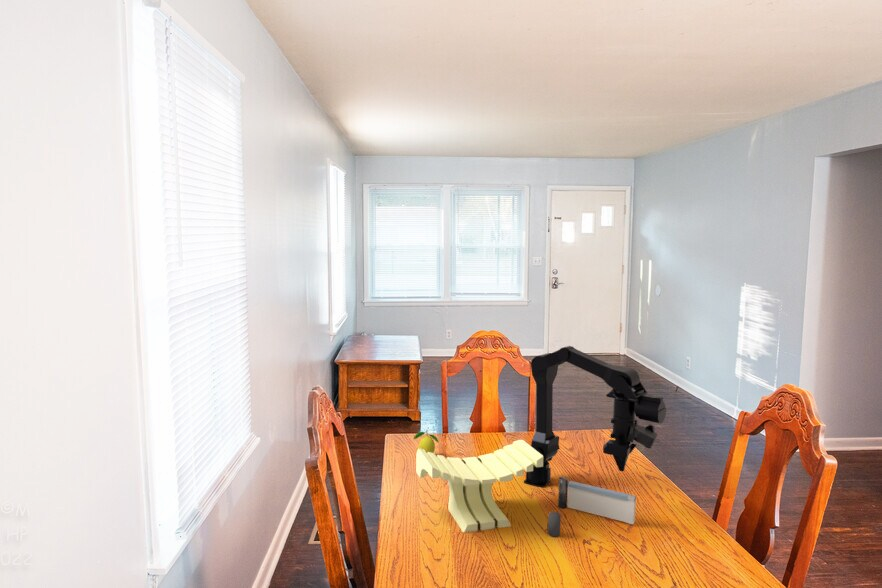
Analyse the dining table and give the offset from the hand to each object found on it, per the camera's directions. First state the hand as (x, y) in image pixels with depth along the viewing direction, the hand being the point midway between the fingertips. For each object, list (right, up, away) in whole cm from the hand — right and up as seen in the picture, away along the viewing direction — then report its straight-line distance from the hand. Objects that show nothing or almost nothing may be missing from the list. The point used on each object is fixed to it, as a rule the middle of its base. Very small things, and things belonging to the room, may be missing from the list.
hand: (621, 470), depth 156 cm
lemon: (-55, -7, +36) cm, 66 cm away
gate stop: (-21, -12, -13) cm, 28 cm away
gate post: (-16, -11, +2) cm, 19 cm away
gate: (-7, -11, -3) cm, 13 cm away
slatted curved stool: (-40, -11, -3) cm, 42 cm away
